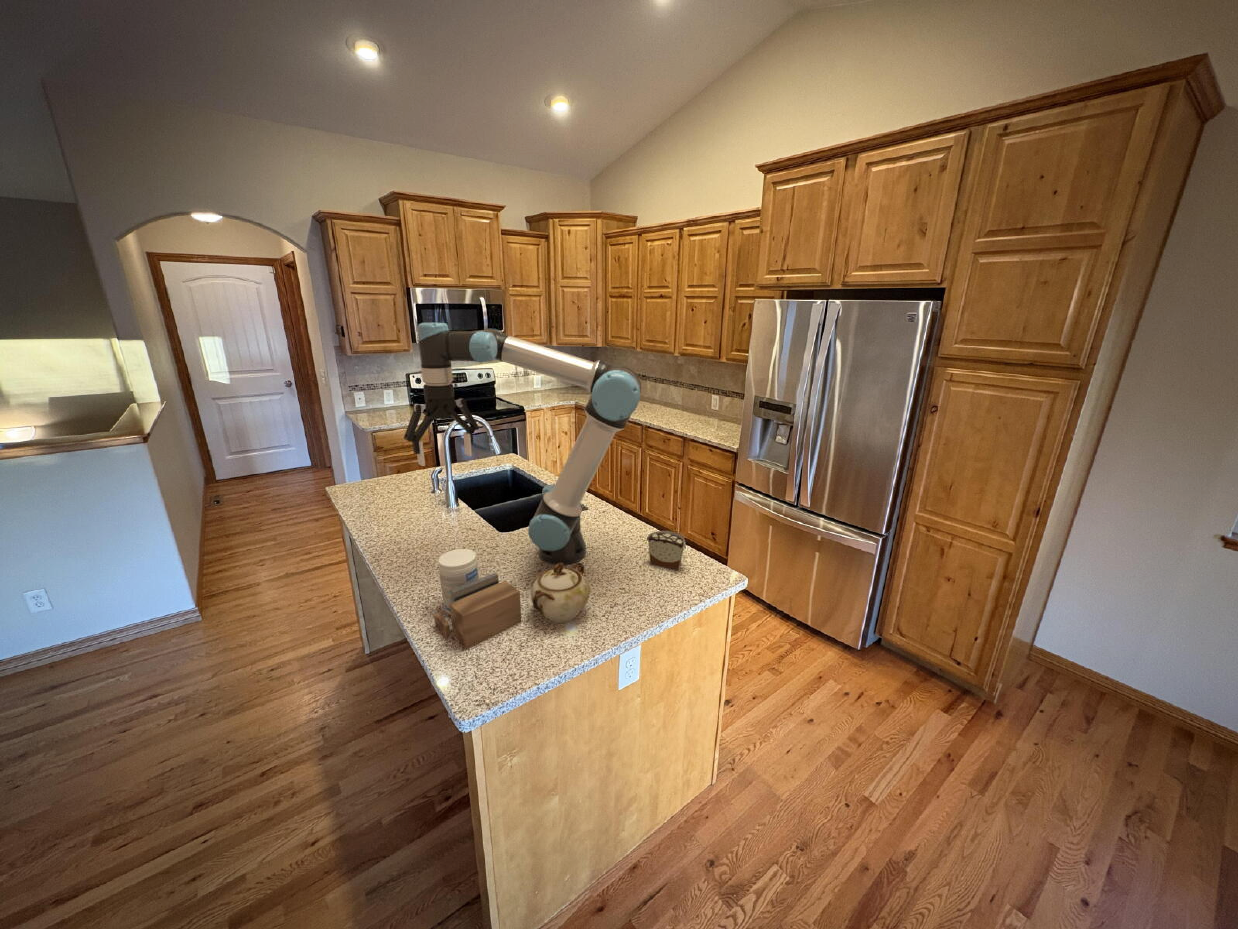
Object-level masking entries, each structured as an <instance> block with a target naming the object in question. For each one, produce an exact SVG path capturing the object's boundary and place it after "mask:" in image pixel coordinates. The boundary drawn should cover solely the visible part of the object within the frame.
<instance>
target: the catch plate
mask: <svg viewBox="0 0 1238 929" xmlns="http://www.w3.org/2000/svg"><path fill="white" fill-rule="evenodd" d="M498 583H500V581H499V574H498V573H497V572H492V573H490V574H488V575H486V576H482V577H479V579H477V580H475V581H472V582H470V583H467V584H465V585H462V586H460V587H457V588H455V589H452V590H450V591H451V600H452V603H453V602H455V601H457V600H460V599H462V598H464V597H467V596H469V595H472V594H474V593H476V592H479V591H481V590H484V589H486V588H488V587H491V586H493V585H496V584H498Z"/></svg>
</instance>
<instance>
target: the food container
mask: <svg viewBox="0 0 1238 929" xmlns="http://www.w3.org/2000/svg"><path fill="white" fill-rule="evenodd" d="M647 541H648V555H649V566H651V567H652V566H653V567H656V568H659V569H660V568H661V569H665V570H668V571H672V572H677V573H679V572H680V571H681V569H680V568H681V563H682V558H683V552H684V550H686V548H687V546H686V540H685V538H684V537H683V536H682V534H679V533H677V532H675V531H669V530H657V531H653V532H650V533H649V534H648V536H647V537H646V542H647Z"/></svg>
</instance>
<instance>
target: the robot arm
mask: <svg viewBox="0 0 1238 929" xmlns="http://www.w3.org/2000/svg"><path fill="white" fill-rule="evenodd" d="M417 343H418V350H419V358H420V366H421V367H420V368H421V377H422V378H421V379H422V382H423V383H424V385H423V386H422V389H423V396H424V404H419V403H413V404H412V414H411V417H410V419H409V423H408V425H407V428H406V431H405V433H404V435H403V439H404V440H405V441H408V442H410V443H411V444H412V452H413V453H414V454H415V455H417V456H416V457H417V464H418V465H419V466H422V467H425V466H426V460H425V453H424V452H425V451H424V445H423V444H424V442H423V441H421V439H422V438H423V437H424V435H425V433H426V432H427V430H429V427H430V425H431V424H432V423H433V422H434V421H435V419H436V420H441V419H443V418H444V419H448V418H450V417H451V418H452V419H453V421H455V422H456V423H457V424H458V425H459V427H461V428H462V429H463V430H464V431H465V432H462V435H463V445H464V455H466V456H468V457H472V456H473V454H472V452H473V451H472V444H474V434H475V433H476V432H475V431H478V430H479V429H480V427H479V425H478V423H477V421H476V420H475V418H474V416H473V414H472V412H471V411H470V409H469V408H468V404H467V401H466V399H464V398H461V397H459V398H458V399H456V400H455V389H454V384H453V383H452V382H453V380H454V379H453V378H454V377H453V367H452V362H473V363H474V362H475V363H490V362H493V361H495V360H496V361H500V362H503V363H506V364H509V365H513V366H516V367H517V368H518V367H519V368H522V369H525V370H528V371H531V372H535V373H538V374H541V375H545V376H547V377H549V378H550V377H551V378H553V379H556V380H560V381H563V382H566V383H569V384H573V385H576V386H578V387H581V388H585V389H586V390H587V391H588V393H589V394H591V395H590V397H589V399H588V400H587V401H588V402H587V404H586V405H585V408H584V412H585V416H586V419H585V421H584V423H583V425H582V427H581V429H580V432H579V433H578V435H577V437H576V440H575V442H574V444H573V446H572V448H571V450H570V453H569V454H568V457H567V459H566V461H565V463H564V465H563V467H562V470H561V472H560V474H559V476H558V478H557V480H556V482H555V483H554V484H548V485H545V486H543V488H542V491H541V492H542V493H541V496H542V499H541V501H540V502H539V506H538V507H537V509H536V511H535V513H534V516H533V518H531V519H530V521H529V522H528V523H529V525H528V528H527V530H528V531H527V532H528V537H529V539H530V540H531V542H532V543H533V544H534V545H535V546H536V547H537V548H538V556H539V558H540V559H541V560H542V561H543V562H545V563H547V564H551V565H557V564H558V563H563V564H564V566H566V565H571V564H574V563H575V564H576V562H577V563H579V561H581V560H583V559H584V558H585V557H586V555H587V544H586V542H585V539H584V536H583V534H582V531H581V530H582V529H581V516H582V512H583V509H582V506H581V503H582V501H583V499H584V497H585V495H586V492H587V491H588V489H589V487H590V485H591V483H592V481H593V479H594V477H595V475H596V473H597V471H598V469H599V467H600V465H601V463H602V461H603V459H604V457H605V455H606V453H607V451H608V449H609V447H610V445H611V443H612V441H613V440H614V439H613V438H614V437H615V435H616V433H617V432H620V431H623V430H625V428H626V426H627V424H628V422H629V421H630V418H631V416H632V415H633V413H634V412H635V411H636V409H637V408H638V406H639V403H640V398H641V392H642V391H641V390H642V383H641V380H640V377H639V376H638V374H637V373H636V372H635V370H632V369H631V368H630V367H627V366H624V365H620V364H615V363H610V362H607V361H604V360H599V359H598V360H597V361H591V360H588V359H584V358H582V357H577V356H575V355H572V354H569V353H566V352H562V351H559V350H557V349H553V348H549V347H546V346H544V345H540V344H537V343H535V342H534V343H533V342H530V341H527V340H524V339H521V338H518V337H515V336H512V335H508V334H504V333H502V331H500V330H498V329H496V328H486V329H481V330H472V331H453V330H450V329H449V325H448V324H447V323H446V322H421V323H419V324H418V325H417ZM456 407H457V408H459V409H460V412H461V413H462V414H463V416H464V418H465V420H466V421H467V422H466V421H465V420H464V419H463V418H462V417H461V416H460V415H459V413H457V412H456V411H455V408H456ZM424 410H425V411H426V413H425V415H424V416H423V417H424V418H423V419H422V421H421V422H420V419H421V417H422V413H423V412H424ZM419 423H420V424H419Z"/></svg>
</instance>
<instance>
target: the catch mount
mask: <svg viewBox="0 0 1238 929" xmlns="http://www.w3.org/2000/svg"><path fill="white" fill-rule="evenodd" d="M449 605H450V614H451V615H450V614H449V615H450V620H451V622H450V623H449V622H448V621H447V620H446V619H445V618H444V617H443V616H442V615H441V614H440V613H439V612H437V613H434V614H433V617H434V624H435V625H434V626H435V628H436V629H437V630H438V631H439V632H440V633H441V634H442V635H443V636H444V637H445V638H446V639H449V638H451V637H452V636H453V638H454V639H455V640H456V641H457V642H458V643H459V644H460V645H461V646H462V647H463V648H464V649H465V650H468V649H470V648H473V647H474V646H476V645H478V644H481V643H483V642H485V641H487V640H489V639H491V638H492V637H495V636H497V635H499V634H501V633H503V632H505V631H507V630H509V629H511V628H512V627H515V626H517V625H519V624H521V623H522V611H521V610H522V609H521V608H522V607H521V592H520V590H519V589H517V588H516V587H515V586H513V585H512V584H511V583H510V582H508V581H507V580H503V581H501V582H500V581H499V583H498V584H496V585H493V586H491V587H488V588H486V589H484V590H481V591H479V592H476V593H474V594H472V595H469V596H467V597H464V598H462V599H460V600H457V601H455V602H453V603H450V604H449ZM450 624H451V627H450ZM451 630H452V635H451Z"/></svg>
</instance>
